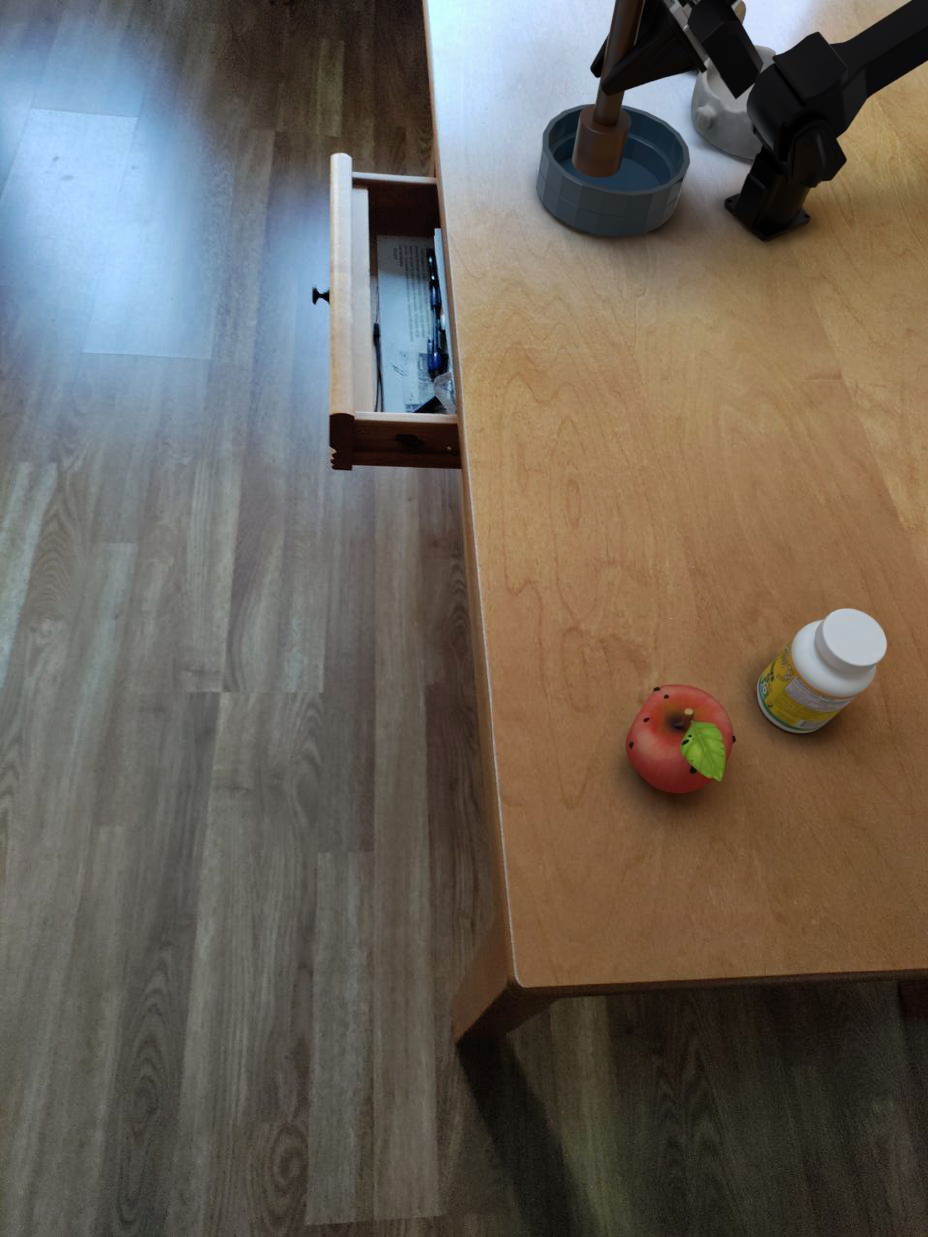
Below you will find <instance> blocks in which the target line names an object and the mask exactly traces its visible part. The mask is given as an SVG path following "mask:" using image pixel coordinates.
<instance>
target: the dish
mask: <svg viewBox="0 0 928 1237" xmlns="http://www.w3.org/2000/svg"><path fill="white" fill-rule="evenodd" d="M753 45H754V46H755V48H756V50H757V52H758V54H759V55H760V57H761V59H762V61H763V63H764V64H763V66H762V69H761V72H762V71H763V70H765V69H766V68H767V67H768V66H770V65H771V64H773V63H774V62H773V60H772V57H773V56H774V55H777V52H776V50H775V49H773V48H771V47H769V46H768V47H767V46H764V45H758V44H753ZM704 64H705V66H706V67H707V69H708V70H707V71H706V72H704V73H701V72H700V71H699V72H698V74H697V78H696V80H695V84H694V87H693V91H692V96H691V101H690V115H691V119H692V122H693V125H694V127H695V129H696V130H697V132H698V133H699V134H700V136H701V137H702V138H703V139H704V140H706V141H707V143H709V144H711V145H712V146H714V147H716V148H718V149H720V150H722V151H724V152H726V153H729V154H731V155H735V156H738V157H741V158H745V159H749V160H753V161H754V158H755V156H756V154H758V153H759V152H760V150H761V147H762V143H761V142H760V140H759V139H758V138H757V136H756V135H755V134H753V132H752V131H751V123H752V121H751V120H750V118H749V116H748V114H747V107H746V103H747V99H748V96H749V93H750V91H751V89H752V87H753V86H754V84H755V83H754V84H753V85H752V86H751V87H750V88H749V89H748V90H747V91H745V92H744V93H743V94H742V95H741V96H740V97H739V98H737V99H736V100H735V98H734V97H733V95H732V94H731V92H730V91H729V89H728V88H727V86H726V85H725V83H724V82H723V81H722V79H721V77H720V76H719V75H720V74H719V73H718V71H717V69H716V68H715V66H714V65H713V63H712V61H711V59H710V58H708V59H707V60H706V61H705V62H704ZM761 72H760V73H761Z"/></svg>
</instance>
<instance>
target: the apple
mask: <svg viewBox="0 0 928 1237" xmlns="http://www.w3.org/2000/svg"><path fill="white" fill-rule="evenodd" d="M652 690H653V691H652V692H651V693H650V694H649V696H648V698H647V699H646V701H645V702H644V704H643V705H642V707H641V709H640V710H639V712H638V714H637V715H636V716H635V719H634V720H633V722H632V724H631V726H630V728H629V731H628V733H627V735H626V739H625V751H626V756H627V758H628V760H629V762H630V764H631V766H632V767H633V769H634V770H635V771H636V772H637V774H639V776H641V778H642V779H643V780H644V781H646V782H647V783H648V784H650V785H651V786H652V787H654V788H656V789H658V790H659V791H660V790H661V791H663V792H667V793H673V794H684V793H685V794H686V793H691V792H695V791H697V790H700V789H703V788H704V787H707V786H708V785H710V784H712V782H713V781H715V780H716V781H718V782H721V781H722V780H723V776H724V772H725V767H726V765H727V764H728V762H729V759H730V757H731V753H732V749H733V745H734V743H735V742H737V739H736V738H737V737H736V735H734V729H733V723H732V720H731V717H730V715H729V713H728V711H727V710H726V708H725V707H724V706H723V704H721V702H720V701H719V699H717V698H716V697H714V696H713V695H712V694H711V693H709V692H707V691H705V690H703V689H701V688H698V687H696V686H691V685H688V684H687V685H686V684H680V683H679V684H675V683H674V684H673V683H672V684H670V683H669V684H663V685H661V686H656V687H653V689H652Z"/></svg>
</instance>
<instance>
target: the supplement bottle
mask: <svg viewBox="0 0 928 1237" xmlns="http://www.w3.org/2000/svg"><path fill="white" fill-rule="evenodd" d="M887 648H888V641H887V637H886V634H885V632H884V630H883V628H882V627H881V625H880V624H879V623H878V622H877V621H876V620H875V618H873V617H872V616H870V615H868V614H867V613H865V612H863V611H861V610H859V609H855V608H847V607H846V608H838V609H836V610H833V611H832V612H830V613H829V614H828V615H827V616H826V617H825V618H824V619H819V620H815V621H811V622H810V623H808V624H806V625H805V626H803V627H802V628H801V629H799V630H798V632H796V634H795V635H794V636H793V637H792V638H791V640H790V641H789V642H788V643H787V644H786V646H784V648H783V649H782V650H781V651H780V652H779V654H777V655H776V657H775V658H774V659H773V660H772V661H771V663H770V664H769V665H768V666H767V667H766V668H765V669H764V670H763V672H762V673H761V674H760V676H759V678H758V681H757V683H756V684H757V685H756V695H757V701H758V705H759V708H760V709H761V711H762V713H763V714H764V716H765V717H766V718H767V719H768V720H769V721H770V722H771V723H773V724H774V725H775V726H777V727H778V728H780V729H782V730H784V731H787V732H790V733H795V734H806V733H807V734H808V733H812V732H815V731H817V730H818V729H821V728H822V727H823V726H825V725H826V724H827V723H829V722H830V720H831V719H833V718H835V716H836V715H837V714H838V713H840V711H842V710H843V709H844V708H845V707H846V706H847V705H849V704H850V703H851V702H852V701H854V700H855V699H856V698H857V697H858V696H859V695H861V694H862V693H863V692H864V691H865V690H866V689H867V688H868V687H869V686H870V685H871V683H873V682H872V681H874V678H875V676H876V672H877V664H878V663H879V662H880V661H881V660H882V659H883V658H884V657H885V655H886V652H887Z"/></svg>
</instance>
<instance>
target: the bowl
mask: <svg viewBox="0 0 928 1237" xmlns="http://www.w3.org/2000/svg"><path fill="white" fill-rule="evenodd" d="M591 104H592V103H587V104H579V105H577V106H574V107H571V108H568V109H564V110H563V111H561V112H560V113H559V114H557V115H556V116H554V117H553V118H551V119H550V120H549V122H548V124H547V125H546V127H545V129H544V130H543V132H542V135H541V142H540V143H541V144H540V148H539V154H538V162H537V167H536V175H535V191H536V192H537V195H538V196H539V199H540V201H541V203H542V205H543V206H545V208H546V209H547V210H548V211H549V212H550V213H551V214H553V216H554V217H556V218H557V219H559V220H560V221H562V222H563V223H565V224H566V225H568V226H570V227H572V228H574V229H576V230H578V231H579V232H583V233H586V234H590V235H594V236H598V237H604V238H627V237H633V236H641V235H643V234H646V233H648V232H651V231H653V230H656V229H658V228H660V227H662V226H663V225H664V224H665V223H666V222H667V221H668V220H669V219H670V218H672V217H673V214H674V213H675V210H676V207H677V205H678V202H679V200H680V196H681V193H682V190H683V187H684V184H685V180H686V178H687V174H688V171H689V168H690V165H691V159H690V158H691V157H690V148H689V147H688V145H687V143H686V141H685V140H684V137H683V136H682V135H681V134H680V132H679V131H678V130H676V129H675V128H674V127H673V126H672V125H670V124H669V123H668V122H667V121H666V120H664V119H662V118H660V117H658V116H656V115H654V114H652V113H650V112H648V111H646V110H643V109H640V108H636V107H633V106H629V105H624V104H622V106H621V109H623V110H624V111H625V112H626V113H627V114H628V115H629V116H630V119H631V125H630V130H629V134H628V138H627V142H626V146H625V151H624V155H623V159H622V163H621V167H620V169H619V171H618V172H617V173H616V174H614V175H612V176H610V177H606V178H595V177H590V176H587V175H584V174H582V173H581V172H579V171H578V170H577V169H576V168H575V167H574V165H573V163H572V155H573V150H574V144H575V139H576V133H577V128H578V122H579V117H580V113H581V111H582V110H583V109H584V108H585V107H587V106H589V105H591Z"/></svg>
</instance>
